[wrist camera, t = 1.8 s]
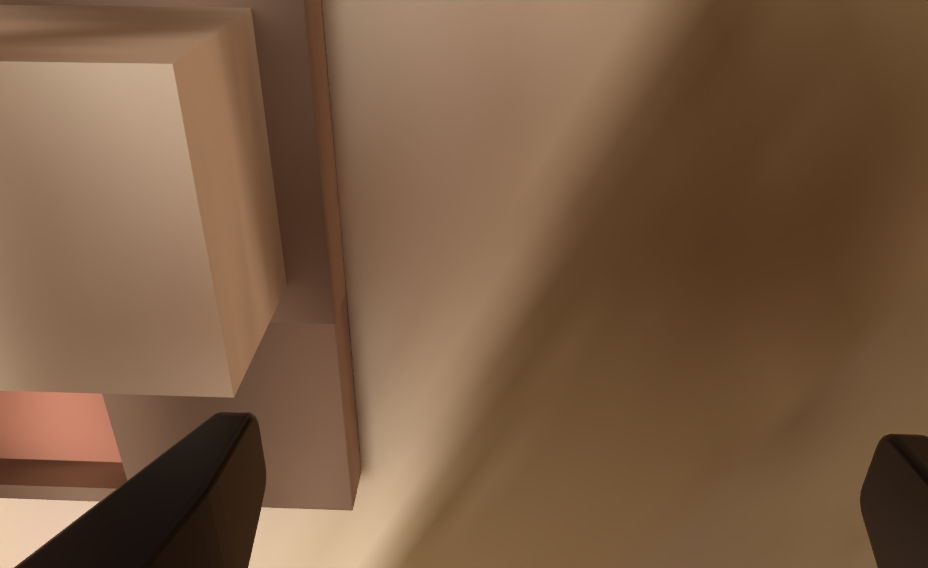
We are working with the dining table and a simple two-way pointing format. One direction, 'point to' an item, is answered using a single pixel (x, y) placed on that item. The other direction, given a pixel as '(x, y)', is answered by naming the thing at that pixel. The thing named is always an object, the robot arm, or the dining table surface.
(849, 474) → the dining table surface
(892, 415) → the dining table surface
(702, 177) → the dining table surface
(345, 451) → the trap deck
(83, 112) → the maple block
